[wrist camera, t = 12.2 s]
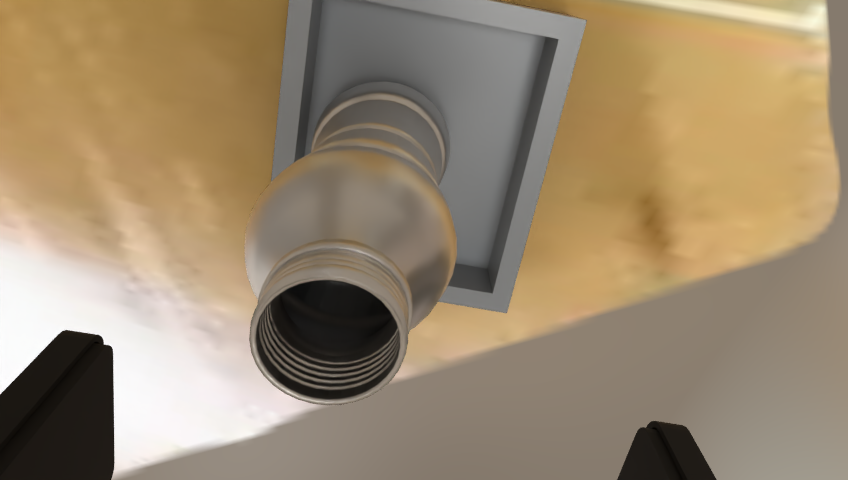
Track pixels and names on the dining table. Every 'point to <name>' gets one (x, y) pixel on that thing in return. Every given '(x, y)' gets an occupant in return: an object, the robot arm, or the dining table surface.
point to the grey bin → (446, 107)
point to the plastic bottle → (351, 246)
